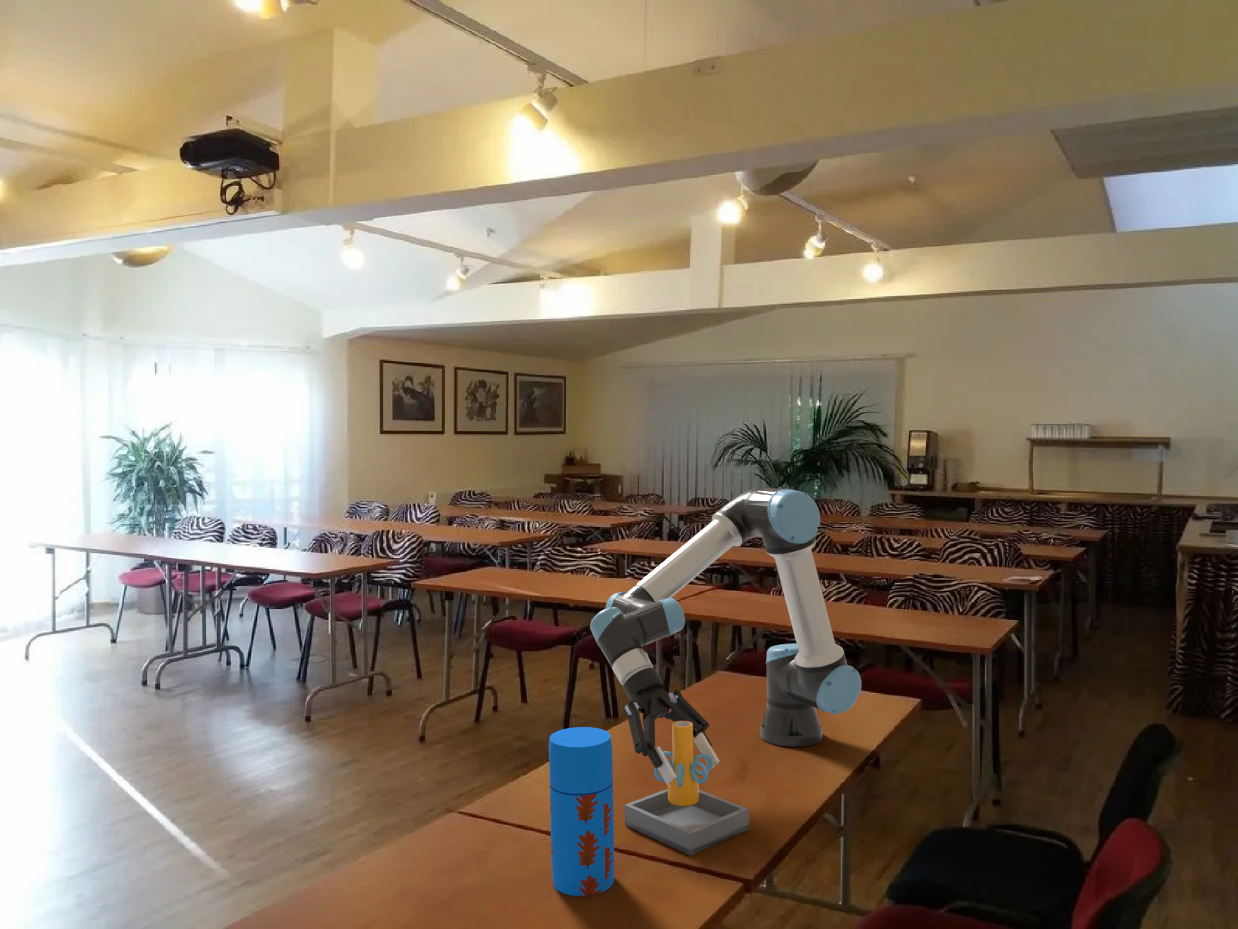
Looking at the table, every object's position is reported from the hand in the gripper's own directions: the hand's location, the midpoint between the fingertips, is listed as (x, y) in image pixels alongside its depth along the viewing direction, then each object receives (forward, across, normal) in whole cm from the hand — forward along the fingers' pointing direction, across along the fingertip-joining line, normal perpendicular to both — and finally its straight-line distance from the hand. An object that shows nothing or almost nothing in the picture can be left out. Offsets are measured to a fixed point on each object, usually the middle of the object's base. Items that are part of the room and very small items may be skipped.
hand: (693, 773), depth 176 cm
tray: (+6, 0, -10) cm, 12 cm away
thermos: (+9, +28, -8) cm, 30 cm away
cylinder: (+3, 0, -7) cm, 7 cm away
